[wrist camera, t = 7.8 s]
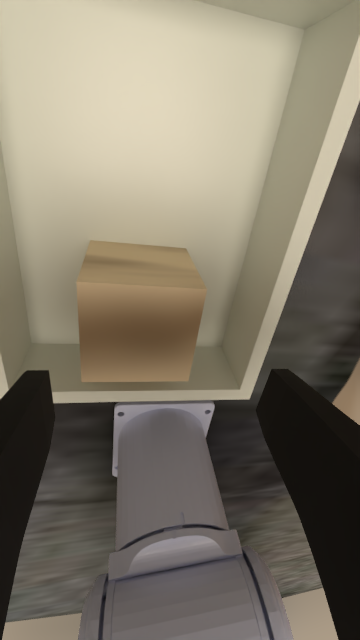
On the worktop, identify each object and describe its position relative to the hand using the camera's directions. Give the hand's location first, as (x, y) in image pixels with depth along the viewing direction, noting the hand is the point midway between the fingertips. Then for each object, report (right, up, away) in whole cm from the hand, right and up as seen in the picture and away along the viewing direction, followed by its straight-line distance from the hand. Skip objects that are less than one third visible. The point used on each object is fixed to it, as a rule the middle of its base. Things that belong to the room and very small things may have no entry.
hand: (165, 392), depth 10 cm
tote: (-2, +8, +6) cm, 10 cm away
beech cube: (-2, +4, +7) cm, 8 cm away
